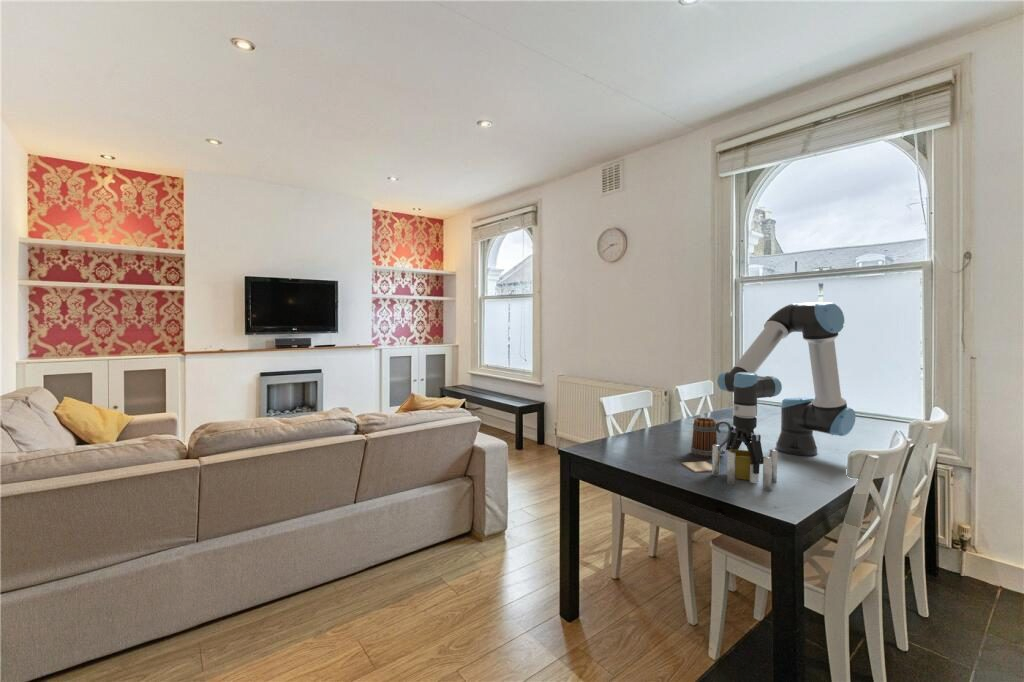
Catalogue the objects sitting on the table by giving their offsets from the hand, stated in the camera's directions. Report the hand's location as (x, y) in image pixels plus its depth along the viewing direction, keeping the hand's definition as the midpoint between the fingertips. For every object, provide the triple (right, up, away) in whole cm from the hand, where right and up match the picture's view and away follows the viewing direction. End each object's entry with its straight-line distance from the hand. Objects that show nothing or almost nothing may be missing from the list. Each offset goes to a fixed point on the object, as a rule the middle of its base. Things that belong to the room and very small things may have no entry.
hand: (743, 476), depth 164 cm
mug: (0, +1, +27) cm, 27 cm away
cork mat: (-11, 0, +12) cm, 16 cm away
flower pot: (0, -1, 0) cm, 1 cm away
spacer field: (+1, -1, -4) cm, 4 cm away
